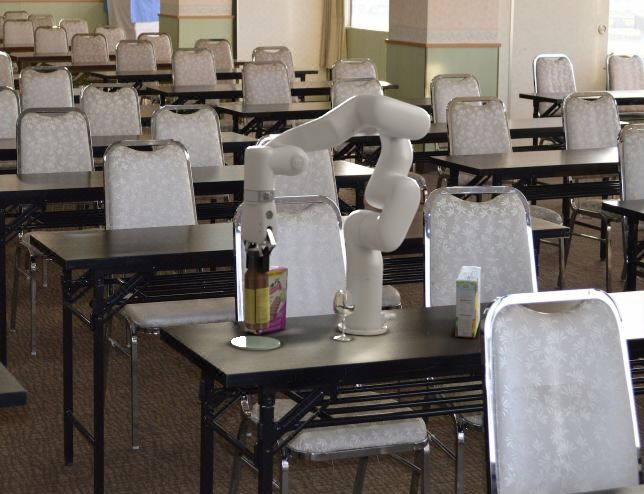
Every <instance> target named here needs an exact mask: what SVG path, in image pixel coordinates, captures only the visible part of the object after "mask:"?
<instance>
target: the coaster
mask: <svg viewBox="0 0 644 494" xmlns="http://www.w3.org/2000/svg"><path fill="white" fill-rule="evenodd" d="M231 345H232V346H233V347H235V348H237V349H242V350H248V351H268V350H274V349H278V348H279V347H281V341H280V340H279V339H276V338H274V337H269V336H261V335H248V336H246V335H245V336H240V337H236V338H233V339H232V340H231Z"/></svg>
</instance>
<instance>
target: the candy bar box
mask: <svg viewBox="0 0 644 494" xmlns="http://www.w3.org/2000/svg"><path fill="white" fill-rule="evenodd" d="M267 274H268V277H269V309H270V321H269V327H268V328H267V329H264V330H252V329H248V328H246V326H245V325H244V332H245V333H249V334H252V335H254V336H260V335H263V334H267V333H272V332H275V331H277V332H278V331H280V330H281V331H282V330H285V329H286V324H287V323H286V322H287V304H288V303H287V301H288V300H287V299H288V297H287V296H288V277H289V276H288V275H289V268H288V267H285V266H279V265H271V266H270V265H269V272H267Z"/></svg>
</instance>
